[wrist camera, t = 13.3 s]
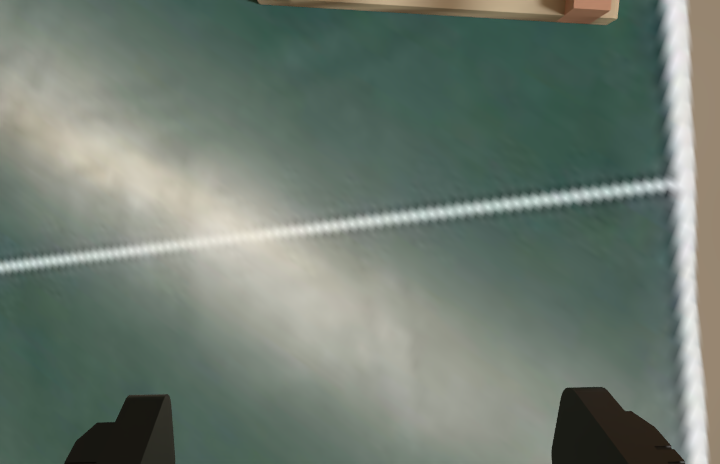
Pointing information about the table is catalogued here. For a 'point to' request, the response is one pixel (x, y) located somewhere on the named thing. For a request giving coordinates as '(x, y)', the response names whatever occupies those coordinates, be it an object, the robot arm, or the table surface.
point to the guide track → (480, 8)
